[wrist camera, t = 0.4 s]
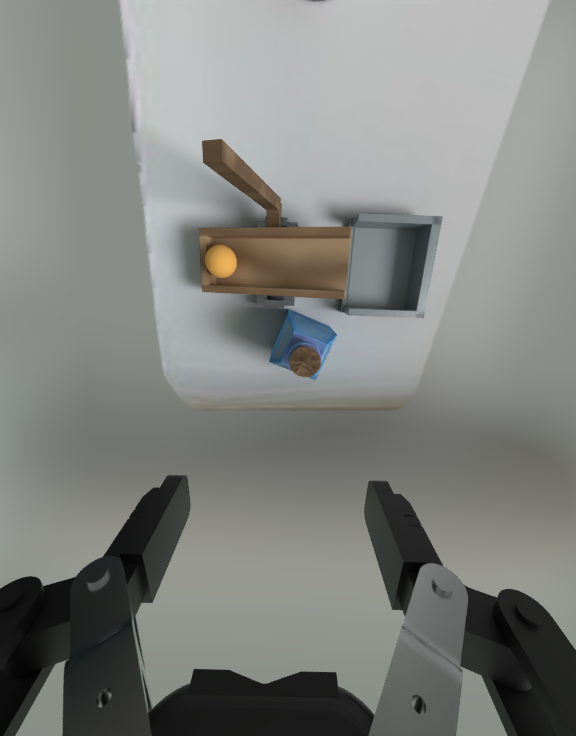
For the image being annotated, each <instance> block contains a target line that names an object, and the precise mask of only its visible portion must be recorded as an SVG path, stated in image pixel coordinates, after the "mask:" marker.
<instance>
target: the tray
mask: <svg viewBox="0 0 576 736" xmlns="http://www.w3.org/2000/svg"><path fill="white" fill-rule="evenodd" d="M442 217H443V216H418V215H394V214H369V213H359V214H358V215H357V216H356V217H355V218H354V219H350V220H349V225H348V227H351V231H352V234H351V244H350V254H349V264H348V275H347V285H346V295H345V298H344V299H341V310H340V312H344V313H346V314H347V315H357V316H383V317H409V318H424V313H425V307H426V302H427V297H428V292H429V286H430V281H431V276H432V270H433V265H434V260H435V254H436V249H437V244H438V238H439V233H440V228H441V222H442ZM354 228H355V229H354ZM353 236H354V239H353ZM352 246H353V248H352ZM351 256H352V258H351ZM350 266H351V268H350ZM349 276H350V278H349ZM348 286H349V288H348ZM347 296H348V298H347Z"/></svg>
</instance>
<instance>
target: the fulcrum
mask: <svg viewBox="0 0 576 736" xmlns="http://www.w3.org/2000/svg"><path fill="white" fill-rule="evenodd" d="M297 226H298V223H287V218H281V227H297ZM262 227H267V217H266V222H263V221H257V228H262ZM257 304H261V305H265V306H267V307H284V305H287V306H294V297H291V296H272V295H257Z"/></svg>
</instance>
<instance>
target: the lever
mask: <svg viewBox="0 0 576 736" xmlns="http://www.w3.org/2000/svg"><path fill="white" fill-rule="evenodd" d="M202 147H203V163H204V164H206V165H207V166H208V167H210V168H211V169H212V170H214V171H215V172H216V173H218V174H219V175H220V176H222V177H223V178H224V179H226V180H227V181H228V182H230V183H231V184H232V185H234V186H235V187H236V188H238V189H239V190H240V191H242V192H243V193H244V194H246V195H247V196H248V197H250V198H251V199H253V200H254V201H255V202H257V203H258V204H259V205H261V206H262V207H263V208H265V209H266V210H267V227H262V228H199V244H200V261H201V279H202V292H216V293H235V294H254V295H272V296H291V297H310V298H329V299H344V298H345V295H346V285H347V275H348V264H349V254H350V244H351V234H352V231H351V227H281V205H282V204H281V203H280V202H281V198H280V197H279V196H278V195H277V194H276V193H275V192H274V191H273V190H272V189H271V188H270V187H269V186H268V185H267V184H266V183H265V182H264V181H263V180H262V179H261V178H260V177H259V176H258V175H257V174H256V173H255V172H254V171H253V170H252V169H251V168H250V167H249V166H248V165H247V164H246V163H245V162H244V161H243V160H242V159H241V158H240V157H239V156H238V155H237V154H236V153H235V152H234V151H233V150H232V149H231V148H230V147H229V146H228V145H227V144H226V143H225V142H224V141H223V140H222V139H217V140H206V141H202ZM215 245H225V246H227V247H229V248H230V249H231V250H232V251H233V252H234V254H235V256H236V259H237V267H236V269H235V271H234V273H233V274H232V275H230V276H229V277H226V278H219V277H216V276H214V275H213V274H211V273H210V272H209V270H208V269H207V267H206V263H205V256H206V253H207V251H208V250H209V249H210V248H211V247H213V246H215Z"/></svg>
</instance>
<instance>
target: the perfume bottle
mask: <svg viewBox="0 0 576 736" xmlns="http://www.w3.org/2000/svg"><path fill="white" fill-rule="evenodd" d="M336 336H337V334H336V333H335V332H334V331H333V330H332V329H331V328H330V327H329V326H327V325H325V324H322V323H320V322H318V321H315V320H313V319H311V318H308V317H306V316H304V315H301V314H299V313H297V312H294V311H292V310H288V313H287V315H286V317H285V320H284V322H283V325H282V327H281V330H280V332H279V334H278V337H277V339H276V342H275V344H274V347H273V349H272V353H271V357H270V361H269V362H271V363H273V364H276V365H278V366H281V367H283V368H286V369H288V370H291V371H293V372H294V373H295V374H296V375H298V376H301V377H308V378H311V379H313V380H316V378H317V376H318V374H319V372H320V370H321V367H322V365H323V363H324V361H325V359H326V357H327V355H328V353H329V351H330V349H331V347H332V345H333V342H334V340H335V338H336Z"/></svg>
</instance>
